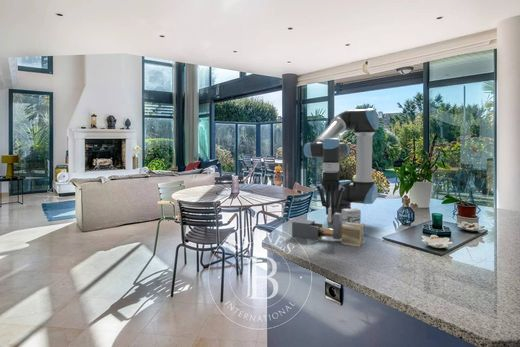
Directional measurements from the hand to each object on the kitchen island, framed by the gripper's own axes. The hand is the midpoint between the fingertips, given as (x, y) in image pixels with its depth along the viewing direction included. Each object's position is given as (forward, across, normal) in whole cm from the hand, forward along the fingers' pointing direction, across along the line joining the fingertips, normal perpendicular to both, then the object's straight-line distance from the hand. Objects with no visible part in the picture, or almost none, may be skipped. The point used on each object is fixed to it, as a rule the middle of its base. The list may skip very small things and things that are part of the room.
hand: (330, 221), depth 157 cm
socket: (+9, +10, 0) cm, 14 cm away
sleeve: (+9, -11, 0) cm, 14 cm away
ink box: (+9, +5, +19) cm, 22 cm away
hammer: (+7, +1, 0) cm, 7 cm away
